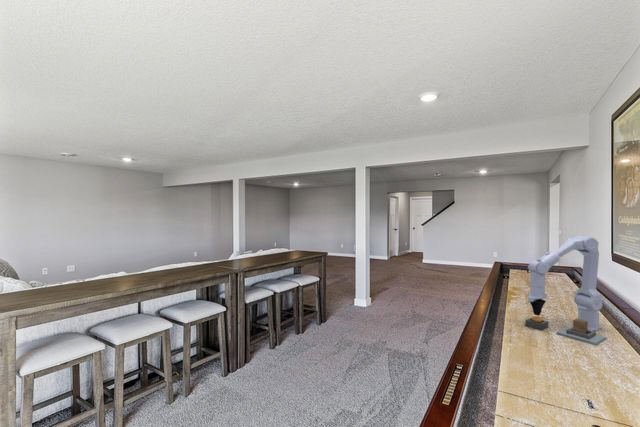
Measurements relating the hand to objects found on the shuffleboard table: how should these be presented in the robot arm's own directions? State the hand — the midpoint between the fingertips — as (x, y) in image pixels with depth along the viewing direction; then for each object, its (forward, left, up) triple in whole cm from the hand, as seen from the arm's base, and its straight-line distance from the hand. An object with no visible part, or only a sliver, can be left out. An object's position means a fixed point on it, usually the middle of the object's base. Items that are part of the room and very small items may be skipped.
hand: (536, 314), depth 152 cm
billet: (-4, +16, -5) cm, 17 cm away
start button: (0, 0, -3) cm, 3 cm away
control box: (0, 0, -6) cm, 6 cm away
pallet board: (-4, +16, -6) cm, 17 cm away
